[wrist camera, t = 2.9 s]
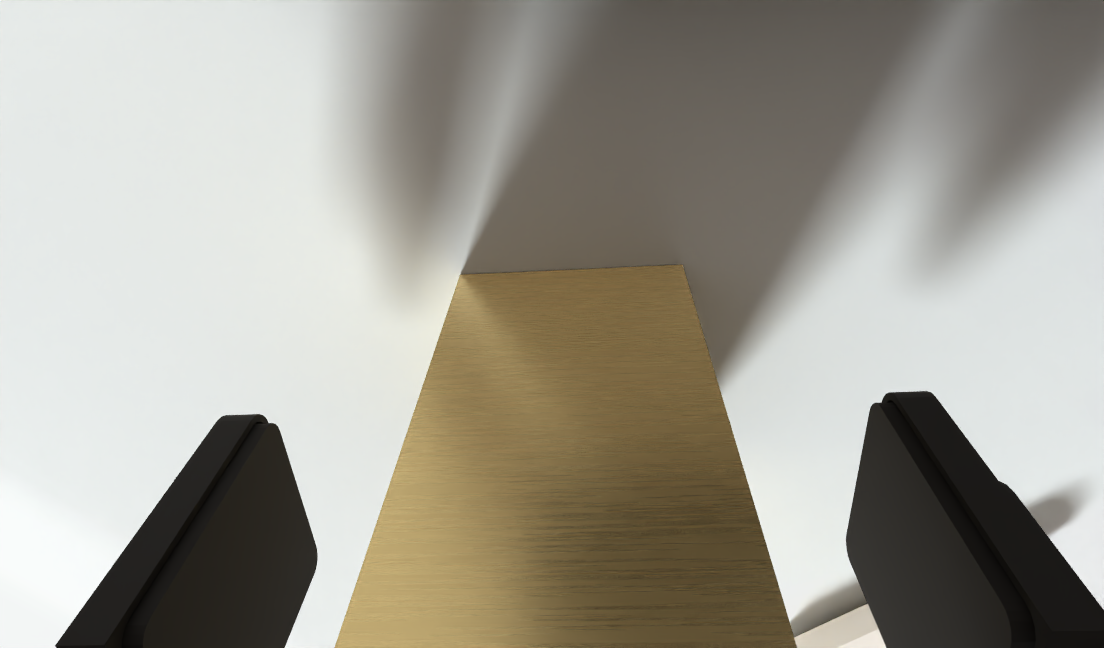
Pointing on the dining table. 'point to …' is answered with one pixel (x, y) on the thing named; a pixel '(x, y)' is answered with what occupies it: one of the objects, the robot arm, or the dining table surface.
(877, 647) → the spray bottle
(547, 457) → the brass peg
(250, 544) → the robot arm
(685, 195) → the dining table surface
